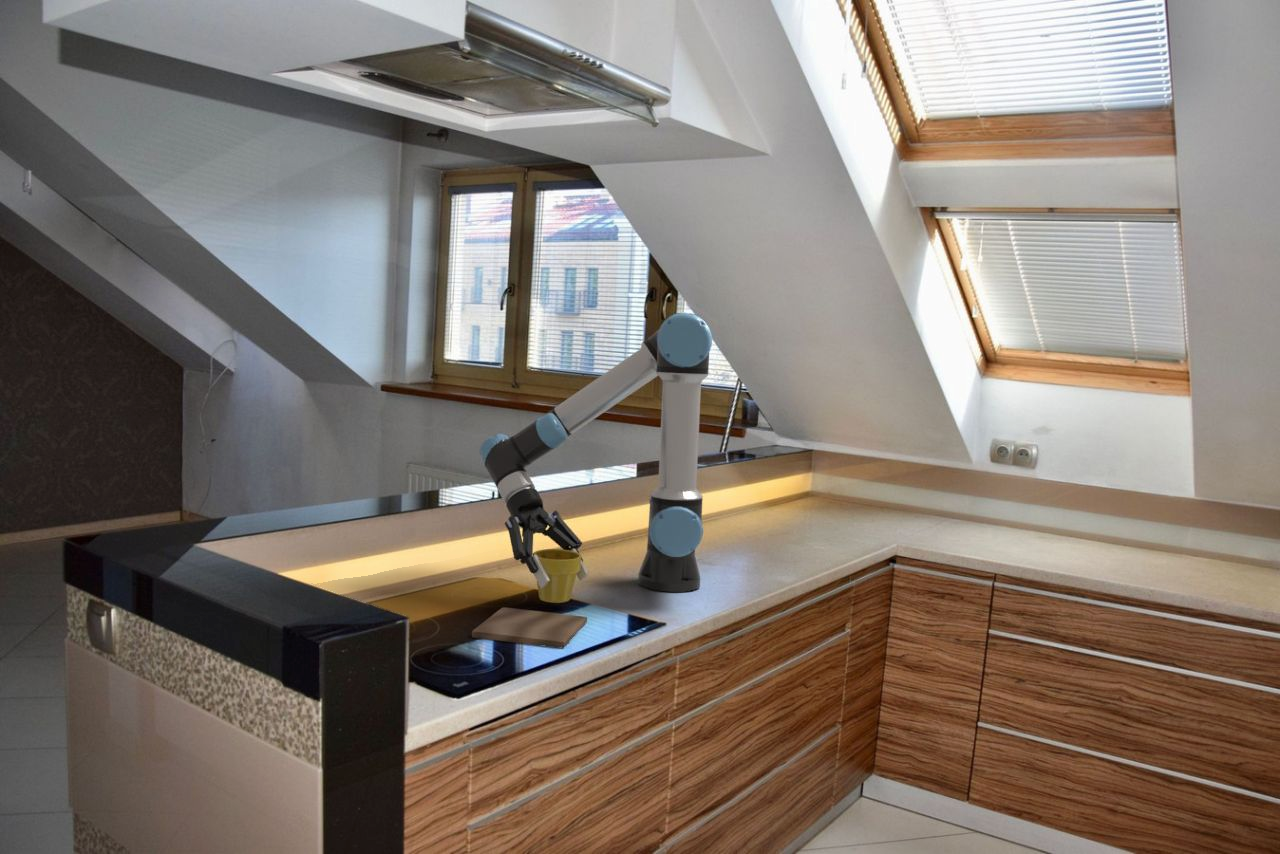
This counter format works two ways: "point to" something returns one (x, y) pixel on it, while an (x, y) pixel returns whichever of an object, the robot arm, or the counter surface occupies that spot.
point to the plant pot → (558, 574)
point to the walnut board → (530, 627)
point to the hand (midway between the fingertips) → (565, 580)
